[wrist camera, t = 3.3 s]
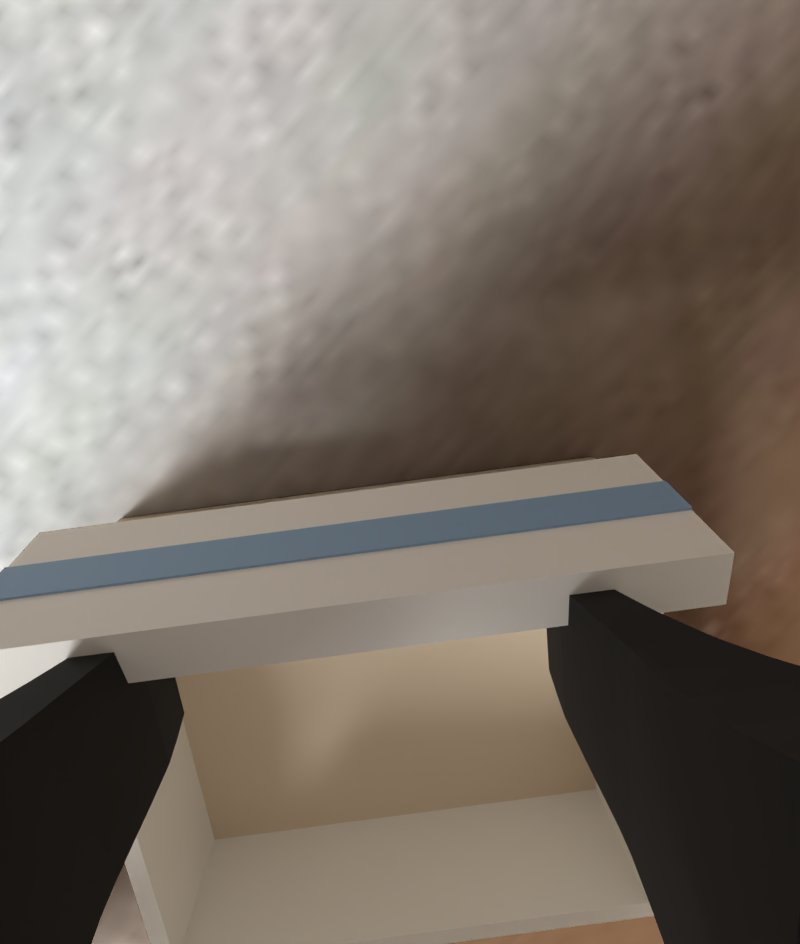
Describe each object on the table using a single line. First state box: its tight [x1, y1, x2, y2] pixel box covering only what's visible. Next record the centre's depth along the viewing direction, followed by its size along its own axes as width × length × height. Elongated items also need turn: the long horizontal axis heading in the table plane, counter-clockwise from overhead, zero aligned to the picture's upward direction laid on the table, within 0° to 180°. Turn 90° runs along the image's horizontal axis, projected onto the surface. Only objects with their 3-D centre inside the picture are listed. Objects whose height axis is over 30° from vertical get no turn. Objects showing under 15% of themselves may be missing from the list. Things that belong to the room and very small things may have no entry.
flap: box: [0, 454, 734, 699], centre depth 11 cm, size 12×4×1 cm
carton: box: [117, 457, 663, 944], centre depth 17 cm, size 14×12×4 cm
